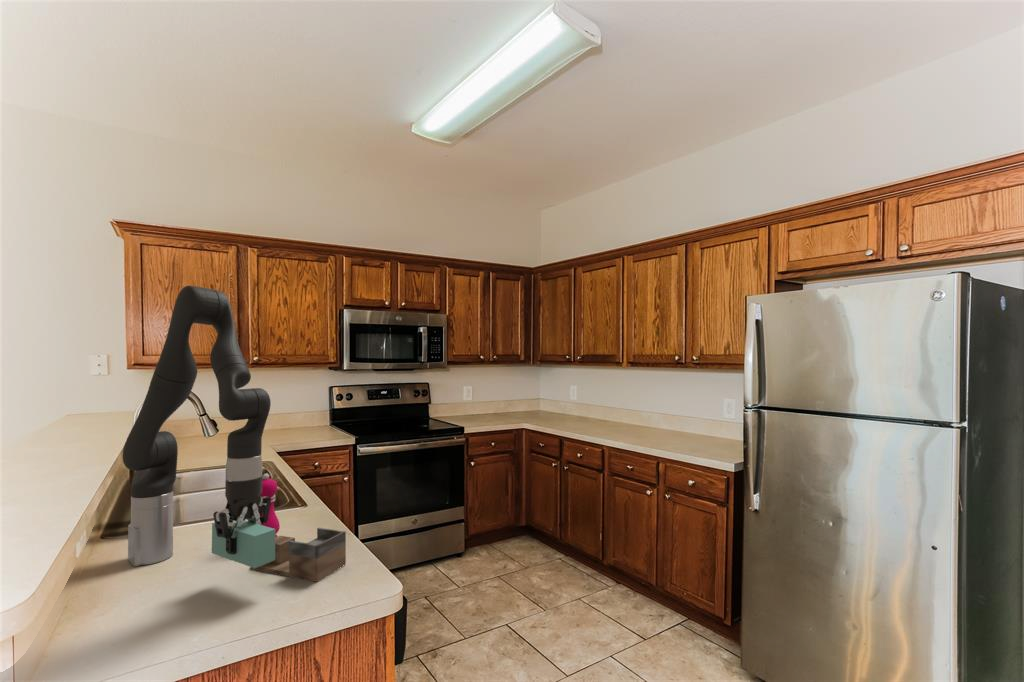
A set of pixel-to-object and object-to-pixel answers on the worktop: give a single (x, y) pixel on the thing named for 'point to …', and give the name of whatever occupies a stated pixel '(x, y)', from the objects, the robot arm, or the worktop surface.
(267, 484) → the pepper mill
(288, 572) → the bracket stand
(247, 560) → the teal rectangular block
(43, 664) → the worktop surface
